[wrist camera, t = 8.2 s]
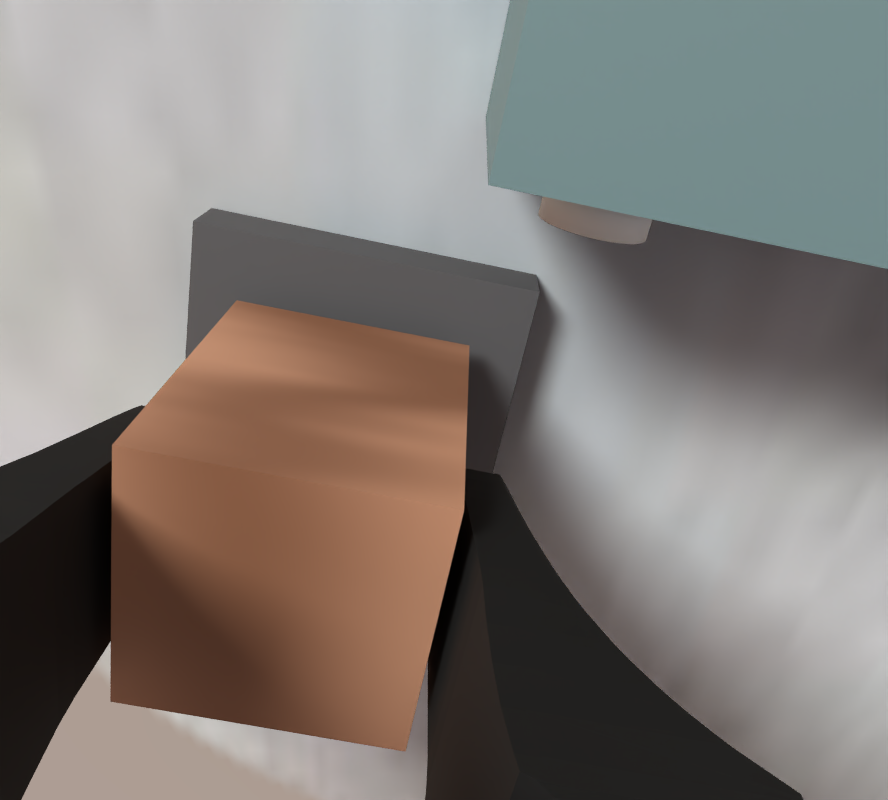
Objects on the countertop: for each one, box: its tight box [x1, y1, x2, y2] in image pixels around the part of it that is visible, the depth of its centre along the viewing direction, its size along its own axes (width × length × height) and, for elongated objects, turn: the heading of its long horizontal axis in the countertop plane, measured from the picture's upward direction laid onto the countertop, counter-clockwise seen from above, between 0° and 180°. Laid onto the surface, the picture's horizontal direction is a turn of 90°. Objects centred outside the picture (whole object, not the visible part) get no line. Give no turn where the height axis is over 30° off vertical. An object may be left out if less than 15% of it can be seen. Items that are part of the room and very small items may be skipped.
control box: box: [486, 0, 888, 269], centre depth 10 cm, size 6×5×6 cm
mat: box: [186, 208, 540, 473], centre depth 15 cm, size 6×6×1 cm
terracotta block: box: [111, 300, 469, 751], centre depth 12 cm, size 4×4×5 cm
